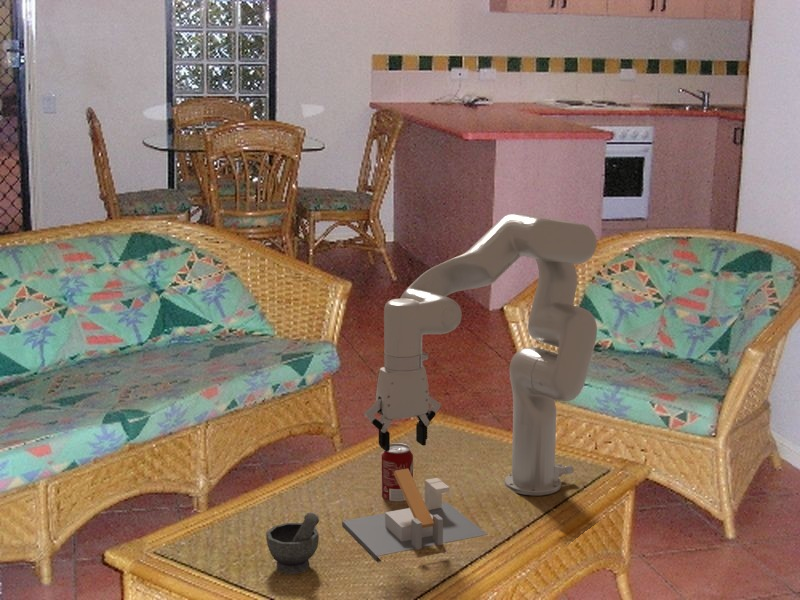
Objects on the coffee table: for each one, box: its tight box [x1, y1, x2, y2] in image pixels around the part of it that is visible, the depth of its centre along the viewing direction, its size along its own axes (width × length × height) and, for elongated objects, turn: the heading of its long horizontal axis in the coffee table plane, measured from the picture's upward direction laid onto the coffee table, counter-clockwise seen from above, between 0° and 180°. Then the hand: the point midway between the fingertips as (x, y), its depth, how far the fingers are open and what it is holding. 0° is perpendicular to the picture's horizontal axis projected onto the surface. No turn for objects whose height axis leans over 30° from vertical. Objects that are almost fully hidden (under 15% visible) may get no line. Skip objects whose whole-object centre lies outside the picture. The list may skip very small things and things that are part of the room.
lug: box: [424, 477, 450, 510], centre depth 241 cm, size 3×6×6 cm, turn 24°
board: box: [341, 501, 488, 563], centre depth 233 cm, size 24×18×6 cm
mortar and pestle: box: [265, 512, 320, 575], centre depth 217 cm, size 11×9×12 cm
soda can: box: [381, 442, 414, 502], centre depth 249 cm, size 7×7×12 cm
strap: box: [394, 469, 434, 528], centre depth 230 cm, size 3×14×1 cm, turn 24°
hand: (403, 445), depth 232 cm, fingers open, 7 cm apart
